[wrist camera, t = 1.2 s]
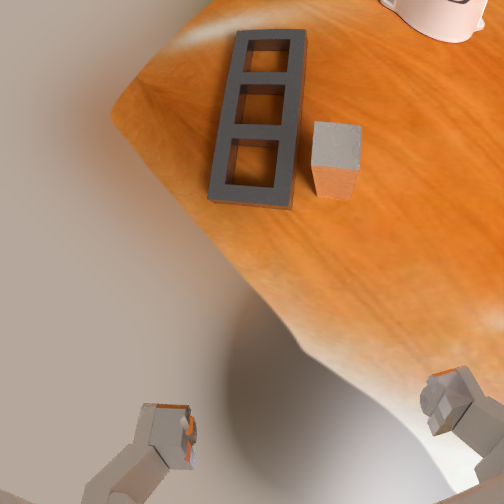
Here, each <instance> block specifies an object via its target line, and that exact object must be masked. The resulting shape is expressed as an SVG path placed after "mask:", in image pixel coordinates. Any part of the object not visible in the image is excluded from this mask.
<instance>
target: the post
mask: <svg viewBox="0 0 504 504" xmlns="http://www.w3.org/2000/svg"><path fill="white" fill-rule="evenodd" d="M360 150H361V126H359V125H350V124H341V123H331V122H319V121H315V123H314V135H313V146H312V157H311V169H312V173H313V178H314V183H315V188H316V193H317V197H320V198H329V199H338V200H346V201H350V198H351V195H352V192H353V189H354V186H355V183H356V179H357V176H358V173H359V168H360Z"/></svg>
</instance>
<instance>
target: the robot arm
mask: <svg viewBox="0 0 504 504" xmlns="http://www.w3.org/2000/svg"><path fill="white" fill-rule="evenodd" d="M380 2H381V4H383V5H384V6H385V7H387V8H389V9H391V10H393V11H394V12H396V13H397V14H398V15H399V16H400V17H401V18H402V19H403V20H404V21H405V22H407V23H408V24H409V25H410V26H412V27H413V28H414V29H416V30H417V31H419V32H421V33H423V34H425V35H427V36H429V37H431V38H434V39H437V40H440V41H444V42H452V43H457V42H463V41H465V40H467V39H469V38H470V37H471V36H472V34H473V33H474V32H475V31H479V30H482V29H483V28H484V25H485V23H484V21H483V19H482V14H483V12H484V9H485V6H486V3H487V0H380ZM427 384H428V385H427V386H426V387H425V388H424V389H423V390H422V392H421V395H420V404H421V408H422V411H423V413H424V414H426V415H427V416H429V418H428V422H427V423H428V425H429V428H430V430H431V432H432V435H433V436H437V435H440V434H443V433H446V432H449V431H452V430H453V431H452V432H453V433H454V434H455V435H456V436H458V437H459V438H460V439H461V440H462V441H464V442H465V443H466V444H467V445H468V446H470V447H471V448H472V449H473V450H474V451H476V452H477V453H478V454H479V455H480V456H482V457H483V459H482V460H481V461H480V462H479V463H478V464H477V465H476V467H475V469H474V470H475V472H476V475H477V478H478V480H479V483H480V484H478V485H476V486H474V487H472V488H470V489H468V490H465V491H463V492H461V493H459V494H456V495H454V496H452V497H449V498H447V499H445V500H442V501H440V502H437V503H434V504H504V405H502V404H501V403H499V402H497V401H496V400H494V399H492V398H491V397H489V396H488V397H485V395H484V393H483V391H482V390H481V388H480V386H479V385H478V383H477V381H476V379H475V378H474V376H473V374H472V373H471V371H470V369H469V368H468V367H467V366H461V367H457V368H454V369H450V370H446V371H443V372H440V373H436V374H433V375H431V376H429V378H428V380H427ZM196 440H197V428H196V422H195V419H194V417H192V416H191V409H190V407H189V405H172V404H151V403H144V404H143V405H142V407H141V409H140V414H139V418H138V423H137V427H136V431H135V436H134V441H133V444H128V445H127V446H126V447H125V448H124V449H123V450H122V451H121V452H120V453H119V454H118V455H117V456H116V457H115V458H114V459H112V461H110V462H109V463H108V464H107V465H106V466H105V467H104V468H103V469H102V470H101V471H100V472H99V473H98V474H97V475H96V476H95V477H93V478H92V479H91V480H90V481H89V482H88V483H87V484H86V486H85V489H84V494H83V498H82V502H81V504H144V503H145V501H146V500H147V498H149V496H150V495H151V494H152V493H153V491H154V490H155V489H156V488H157V486H158V485H159V484H160V483H161V481H162V480H163V479H164V477H165V476H166V475H167V473H168V472H169V469H177V470H194V464H195V452H194V450H193V448H192V446H193V445H194V444H195V443H196ZM0 504H35V503H32V502H29V501H27V500H25V499H22V498H20V497H17V496H15V495H13V494H11V493H9V492H7V491H4V490H2V489H0Z"/></svg>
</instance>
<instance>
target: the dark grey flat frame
mask: <svg viewBox="0 0 504 504" xmlns="http://www.w3.org/2000/svg"><path fill="white" fill-rule="evenodd" d="M307 44H308V40H307V34H306V30H302V29H269V30H245V31H237V34H236V39H235V44H234V48H233V53H232V58H231V63H230V68H229V73H228V78H227V83H226V89H225V94H224V99H223V105H222V111H221V116H220V122H219V128H218V133H217V139H216V145H215V151H214V158H213V164H212V170H211V177H210V183H209V190H208V197H207V199H208V200H210V201H212V202H214V203H219V204H231V205H242V206H253V207H263V208H273V209H283V210H292V202H293V194H294V185H295V176H296V166H297V157H298V147H299V137H300V127H301V116H302V106H303V94H304V83H305V70H306V58H307ZM253 51H289V58H288V68H287V72H250V68H251V62H252V56H253ZM246 94H260V95H284V103H283V112H282V121H281V125H260V124H242V118H243V112H244V105H245V99H246ZM238 146H250V147H270V148H278V155H277V164H276V172H275V180H274V188H267V187H255V186H242V185H233V179H234V172H235V165H236V158H237V151H238Z"/></svg>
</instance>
